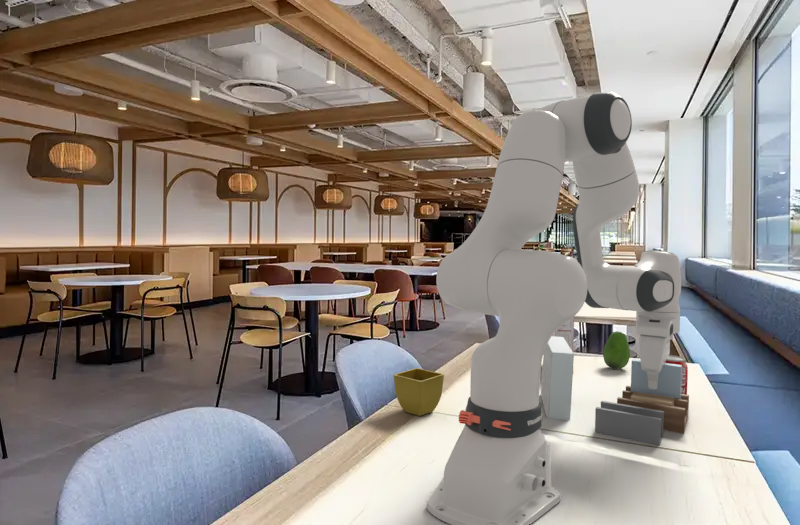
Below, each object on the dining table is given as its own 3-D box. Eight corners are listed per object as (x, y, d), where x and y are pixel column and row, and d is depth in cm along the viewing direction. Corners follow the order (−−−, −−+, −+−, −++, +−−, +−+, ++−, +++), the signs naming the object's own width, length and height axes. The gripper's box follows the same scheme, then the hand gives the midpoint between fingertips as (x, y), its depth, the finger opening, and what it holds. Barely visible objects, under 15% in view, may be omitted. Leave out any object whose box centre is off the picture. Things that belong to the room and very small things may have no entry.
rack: (683, 438, 105) (684, 409, 105) (616, 425, 112) (617, 398, 112) (688, 421, 115) (689, 395, 115) (625, 410, 122) (626, 385, 122)
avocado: (629, 373, 156) (630, 334, 156) (601, 370, 160) (602, 332, 159) (630, 367, 164) (631, 330, 163) (603, 364, 167) (604, 328, 166)
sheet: (679, 420, 113) (681, 366, 112) (630, 411, 118) (631, 360, 118) (680, 418, 114) (681, 365, 114) (631, 409, 120) (633, 358, 119)
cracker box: (546, 362, 169) (547, 299, 168) (565, 363, 168) (566, 300, 167) (553, 373, 155) (554, 305, 154) (573, 374, 154) (575, 305, 153)
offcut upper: (671, 414, 108) (672, 403, 107) (630, 407, 112) (630, 396, 112) (673, 409, 111) (674, 397, 111) (633, 402, 116) (634, 391, 116)
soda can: (689, 405, 126) (691, 357, 126) (682, 412, 121) (683, 362, 120) (659, 399, 131) (660, 352, 130) (650, 405, 126) (651, 357, 125)
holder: (659, 450, 99) (660, 420, 99) (594, 437, 105) (595, 408, 105) (663, 439, 104) (664, 411, 104) (601, 427, 111) (601, 400, 110)
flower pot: (392, 411, 120) (392, 374, 119) (416, 403, 126) (416, 367, 126) (420, 421, 114) (421, 381, 113) (444, 411, 120) (445, 374, 120)
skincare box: (572, 424, 113) (574, 353, 112) (547, 422, 114) (548, 352, 113) (562, 396, 133) (563, 335, 132) (540, 394, 134) (542, 334, 134)
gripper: (648, 315, 126) (646, 371, 126) (635, 327, 108) (633, 391, 109) (677, 318, 122) (675, 375, 123) (668, 330, 105) (666, 397, 106)
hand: (655, 383), depth 116 cm, fingers open, 8 cm apart
